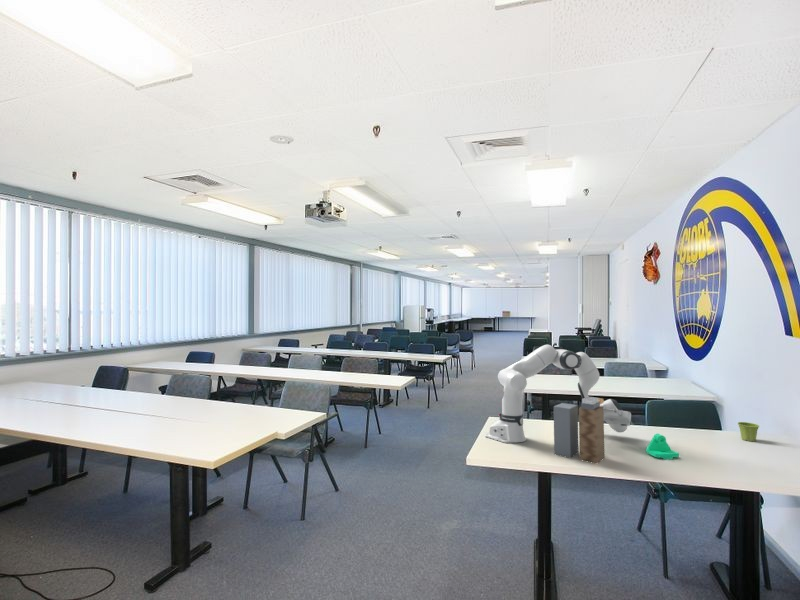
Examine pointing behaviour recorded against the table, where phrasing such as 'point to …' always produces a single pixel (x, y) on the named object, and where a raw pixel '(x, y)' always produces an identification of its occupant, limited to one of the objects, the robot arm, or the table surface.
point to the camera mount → (660, 448)
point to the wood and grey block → (591, 403)
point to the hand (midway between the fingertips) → (606, 408)
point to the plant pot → (748, 431)
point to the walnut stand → (591, 434)
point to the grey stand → (566, 429)
